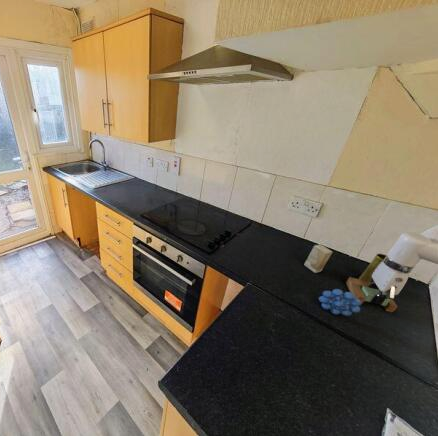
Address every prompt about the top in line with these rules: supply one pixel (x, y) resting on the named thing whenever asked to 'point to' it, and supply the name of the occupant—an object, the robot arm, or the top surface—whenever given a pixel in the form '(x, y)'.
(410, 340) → the top surface
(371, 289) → the light green block
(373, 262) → the vase
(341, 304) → the grapes
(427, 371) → the top surface
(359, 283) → the brown wooden u-shaped piece
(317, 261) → the cosmetic box
